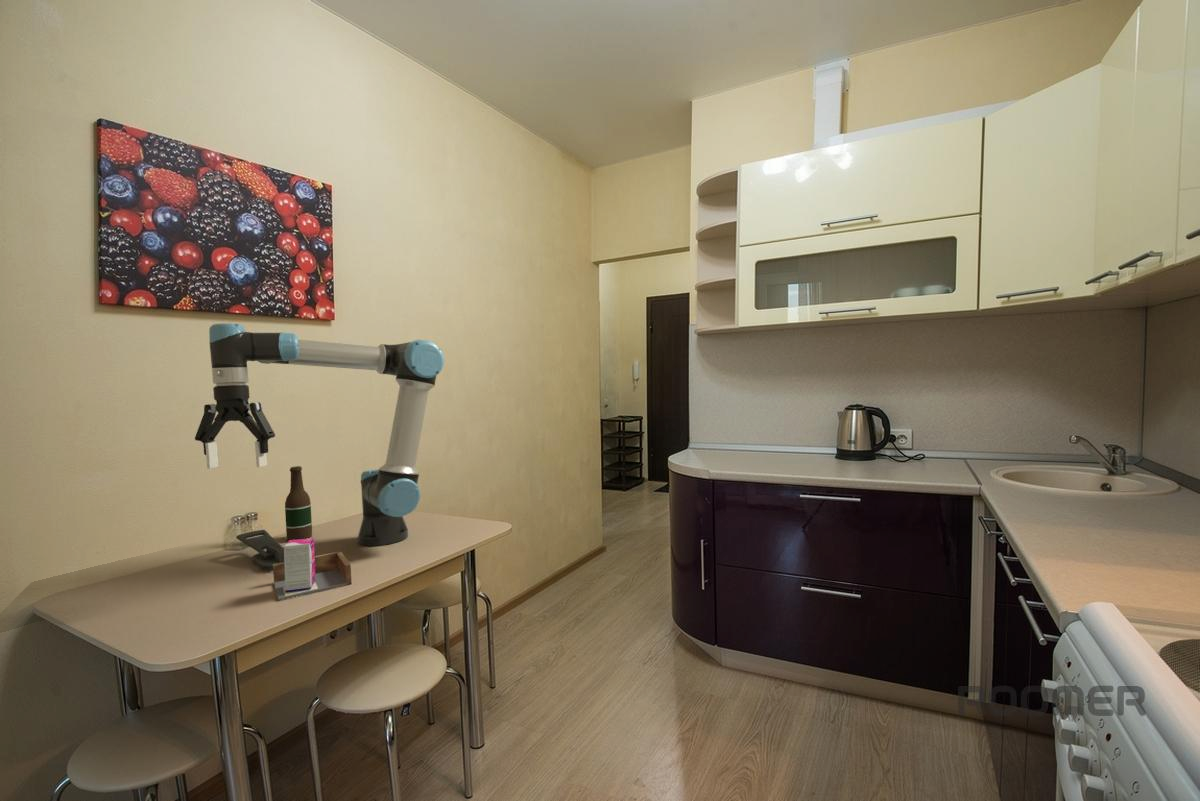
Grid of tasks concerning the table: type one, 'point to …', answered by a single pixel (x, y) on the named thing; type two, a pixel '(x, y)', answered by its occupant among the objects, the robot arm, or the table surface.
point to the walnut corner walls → (321, 566)
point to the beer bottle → (298, 508)
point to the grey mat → (321, 583)
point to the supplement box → (299, 565)
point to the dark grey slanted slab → (263, 558)
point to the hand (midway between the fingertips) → (237, 467)
